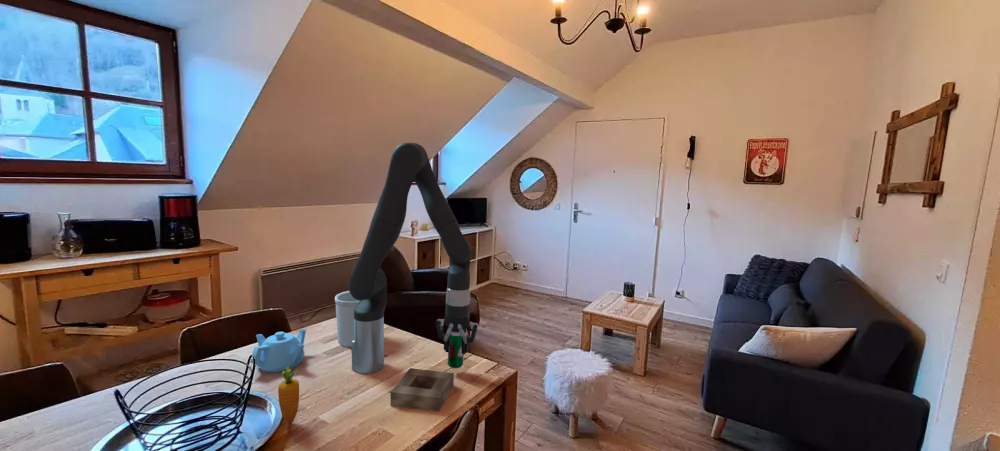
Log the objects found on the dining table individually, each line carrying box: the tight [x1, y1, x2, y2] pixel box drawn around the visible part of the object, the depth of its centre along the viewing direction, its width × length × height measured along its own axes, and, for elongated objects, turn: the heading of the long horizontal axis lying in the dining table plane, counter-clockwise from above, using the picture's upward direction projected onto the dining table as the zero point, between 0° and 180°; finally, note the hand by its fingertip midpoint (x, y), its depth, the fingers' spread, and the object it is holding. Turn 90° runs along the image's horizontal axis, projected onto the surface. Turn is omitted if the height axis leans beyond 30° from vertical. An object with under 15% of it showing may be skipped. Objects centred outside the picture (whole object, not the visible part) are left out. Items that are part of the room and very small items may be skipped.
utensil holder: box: [334, 290, 360, 348], centre depth 152 cm, size 15×15×18 cm
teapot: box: [250, 328, 307, 373], centre depth 132 cm, size 15×15×11 cm
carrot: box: [277, 366, 300, 425], centre depth 101 cm, size 5×5×15 cm
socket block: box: [390, 367, 455, 413], centre depth 117 cm, size 14×14×4 cm
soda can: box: [447, 331, 465, 369], centre depth 129 cm, size 5×5×12 cm
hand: (455, 352), depth 129 cm, fingers closed on soda can, 5 cm apart
